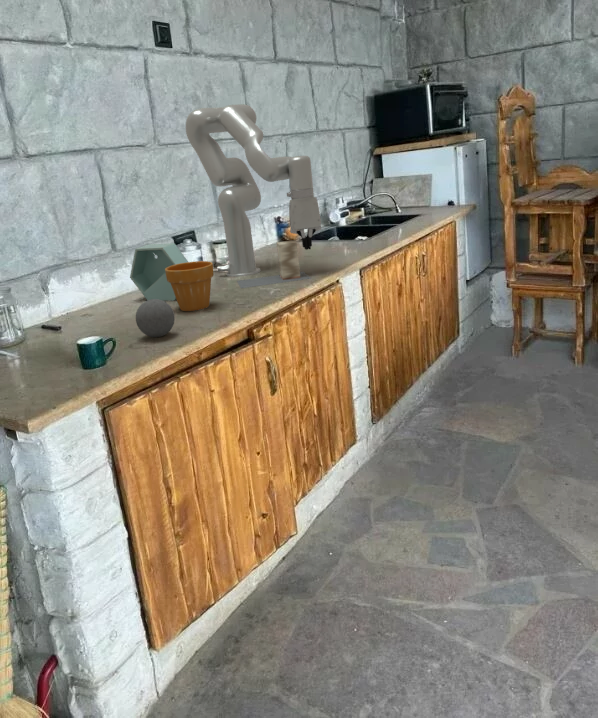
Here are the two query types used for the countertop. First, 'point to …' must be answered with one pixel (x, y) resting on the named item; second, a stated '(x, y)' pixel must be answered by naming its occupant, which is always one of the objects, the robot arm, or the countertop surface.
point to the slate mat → (269, 280)
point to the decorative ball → (155, 318)
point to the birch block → (288, 260)
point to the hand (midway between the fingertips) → (307, 248)
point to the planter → (155, 270)
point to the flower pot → (191, 284)
